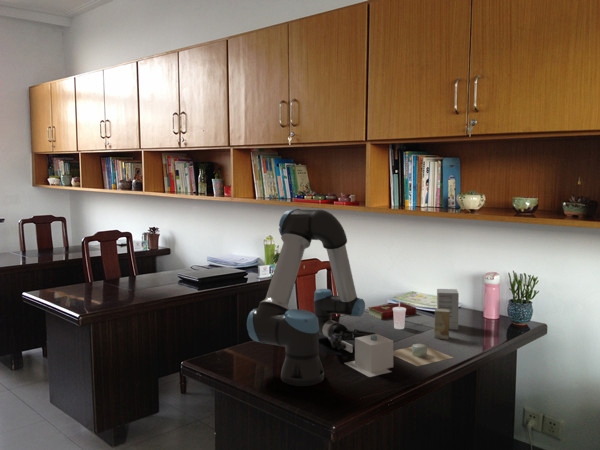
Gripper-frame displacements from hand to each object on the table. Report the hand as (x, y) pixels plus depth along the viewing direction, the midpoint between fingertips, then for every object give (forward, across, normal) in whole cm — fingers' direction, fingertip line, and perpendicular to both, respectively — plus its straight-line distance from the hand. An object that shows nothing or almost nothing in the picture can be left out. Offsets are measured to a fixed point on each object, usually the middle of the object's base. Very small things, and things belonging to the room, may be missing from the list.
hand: (366, 345), depth 203 cm
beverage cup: (-28, -40, -6) cm, 49 cm away
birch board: (+6, -21, -6) cm, 23 cm away
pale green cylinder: (+6, -21, -6) cm, 23 cm away
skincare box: (-7, -45, -6) cm, 46 cm away
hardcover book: (-48, -52, -7) cm, 71 cm away
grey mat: (+6, +1, -6) cm, 8 cm away
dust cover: (+6, +1, -6) cm, 8 cm away
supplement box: (-18, -59, -6) cm, 62 cm away
